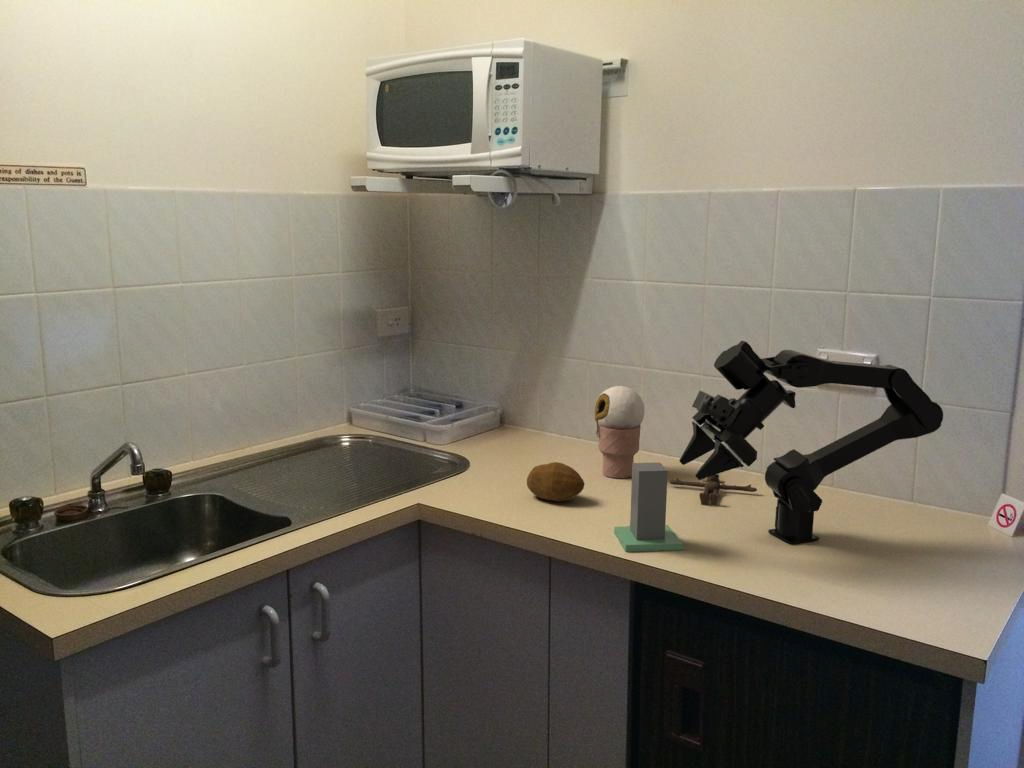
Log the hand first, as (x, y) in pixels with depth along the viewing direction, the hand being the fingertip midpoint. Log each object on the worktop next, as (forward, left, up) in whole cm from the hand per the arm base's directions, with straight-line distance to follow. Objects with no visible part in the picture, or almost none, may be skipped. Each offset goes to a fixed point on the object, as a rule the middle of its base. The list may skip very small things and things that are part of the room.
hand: (688, 470), depth 152 cm
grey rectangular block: (+2, +7, -12) cm, 14 cm away
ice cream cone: (+40, -7, -13) cm, 43 cm away
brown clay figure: (+20, -19, -13) cm, 31 cm away
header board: (+2, +7, -13) cm, 15 cm away
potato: (+29, +13, -13) cm, 34 cm away
